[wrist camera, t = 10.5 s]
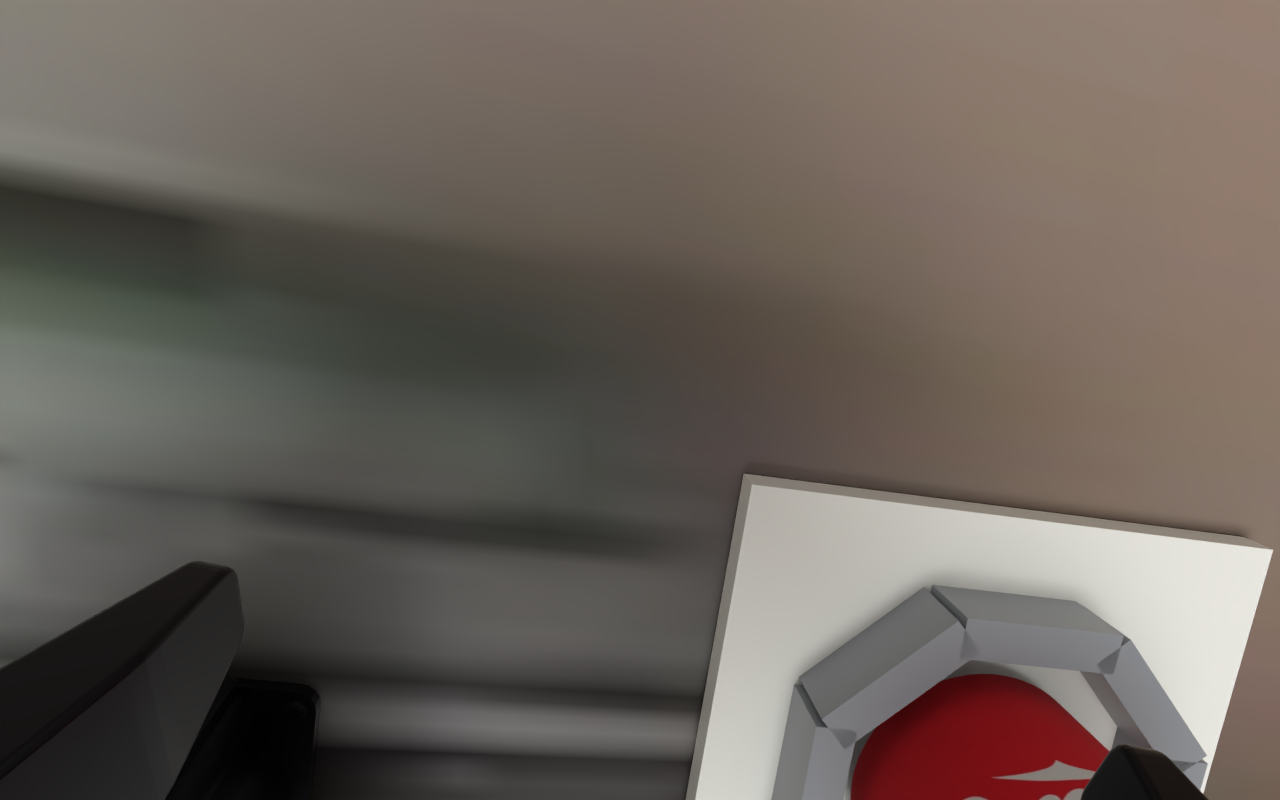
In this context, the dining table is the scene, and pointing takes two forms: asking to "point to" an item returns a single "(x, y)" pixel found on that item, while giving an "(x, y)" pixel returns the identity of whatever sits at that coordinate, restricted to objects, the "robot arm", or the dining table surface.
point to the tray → (958, 628)
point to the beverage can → (978, 746)
